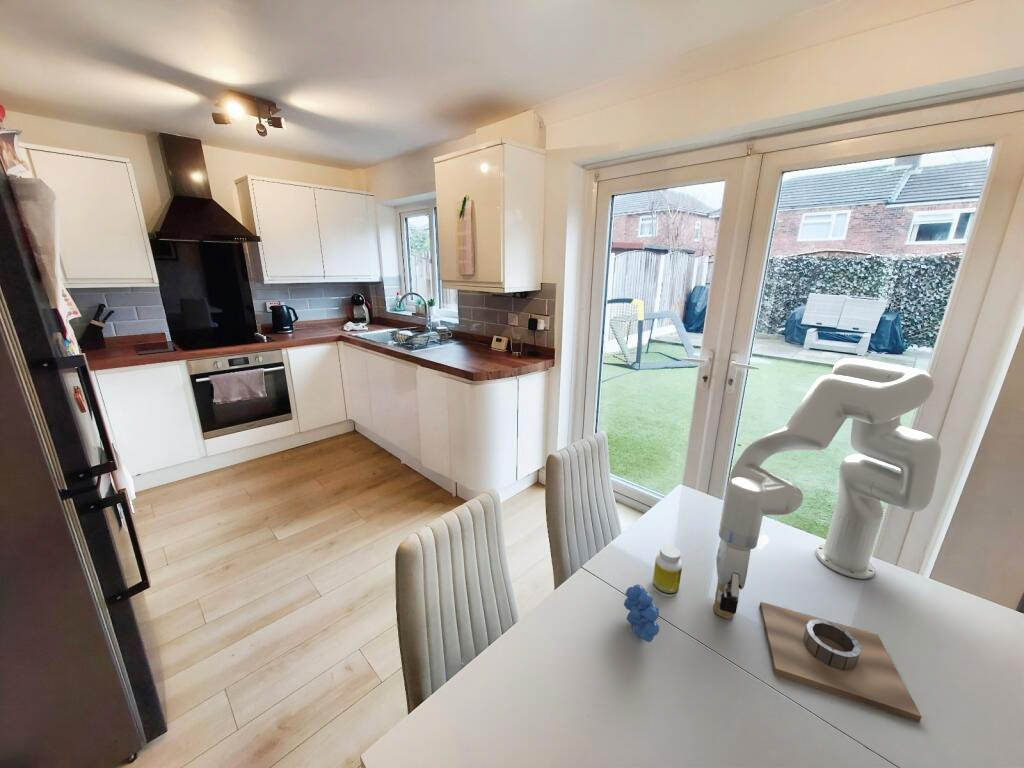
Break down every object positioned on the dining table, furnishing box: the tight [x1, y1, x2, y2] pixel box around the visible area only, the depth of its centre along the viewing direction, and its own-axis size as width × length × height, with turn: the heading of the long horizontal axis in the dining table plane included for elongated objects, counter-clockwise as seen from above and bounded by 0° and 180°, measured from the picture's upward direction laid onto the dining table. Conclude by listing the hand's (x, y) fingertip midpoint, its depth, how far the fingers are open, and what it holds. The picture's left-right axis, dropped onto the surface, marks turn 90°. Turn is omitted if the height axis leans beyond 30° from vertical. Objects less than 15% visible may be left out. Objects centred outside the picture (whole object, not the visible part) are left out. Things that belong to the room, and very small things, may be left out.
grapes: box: [623, 584, 660, 643], centre depth 85 cm, size 12×7×12 cm, turn 12°
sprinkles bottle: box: [712, 580, 736, 619], centre depth 91 cm, size 5×5×14 cm
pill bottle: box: [652, 544, 683, 598], centre depth 98 cm, size 6×6×11 cm
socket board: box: [758, 601, 922, 723], centre depth 82 cm, size 18×22×2 cm
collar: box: [803, 618, 861, 671], centre depth 81 cm, size 9×9×4 cm
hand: (726, 598), depth 92 cm, fingers open, 6 cm apart
